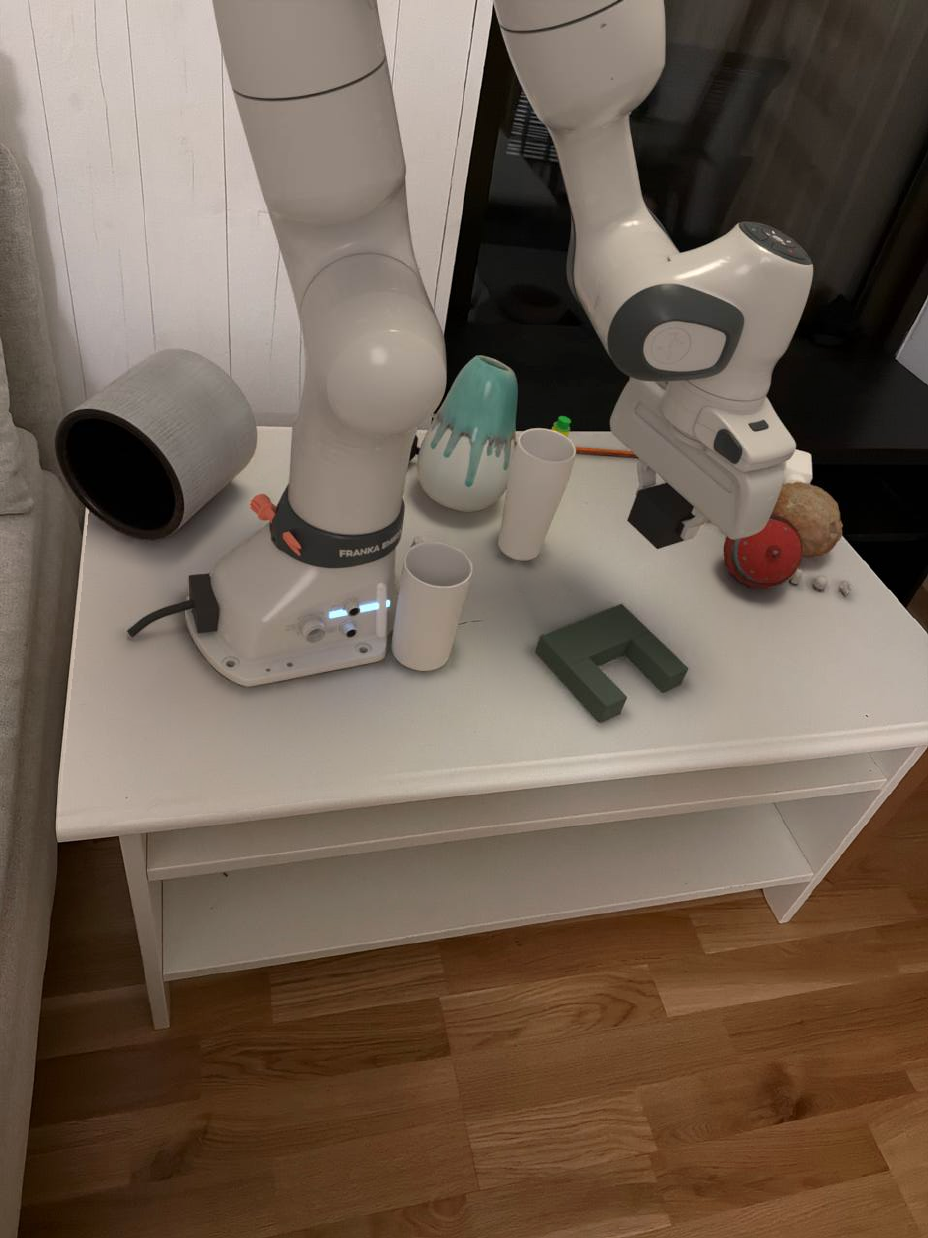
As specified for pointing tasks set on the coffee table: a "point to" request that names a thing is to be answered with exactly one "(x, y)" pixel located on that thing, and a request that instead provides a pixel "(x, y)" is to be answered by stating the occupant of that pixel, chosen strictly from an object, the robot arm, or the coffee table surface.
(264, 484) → the coffee table surface
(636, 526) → the black matte cube
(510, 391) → the vase
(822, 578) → the game pieces
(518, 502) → the drinking glass
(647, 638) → the u-shaped block
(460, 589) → the mug
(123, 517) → the planter
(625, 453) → the pencil
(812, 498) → the dinner roll
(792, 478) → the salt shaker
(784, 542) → the gadget
